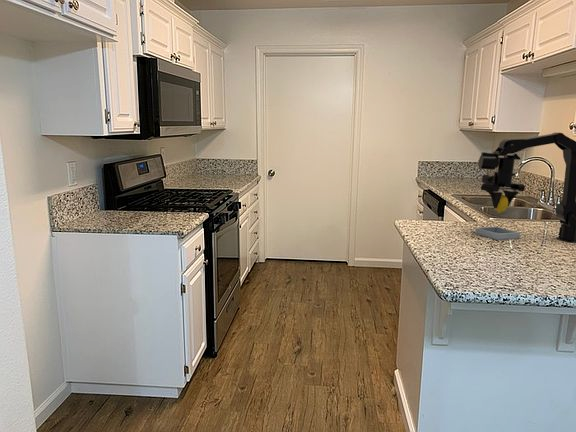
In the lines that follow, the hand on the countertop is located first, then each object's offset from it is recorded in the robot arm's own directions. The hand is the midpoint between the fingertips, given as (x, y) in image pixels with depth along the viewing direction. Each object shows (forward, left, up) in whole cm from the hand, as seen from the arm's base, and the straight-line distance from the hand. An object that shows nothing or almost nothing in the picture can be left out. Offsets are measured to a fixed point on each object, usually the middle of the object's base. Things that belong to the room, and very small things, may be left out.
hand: (500, 207), depth 185 cm
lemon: (0, 0, -2) cm, 2 cm away
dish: (0, 0, -12) cm, 12 cm away
